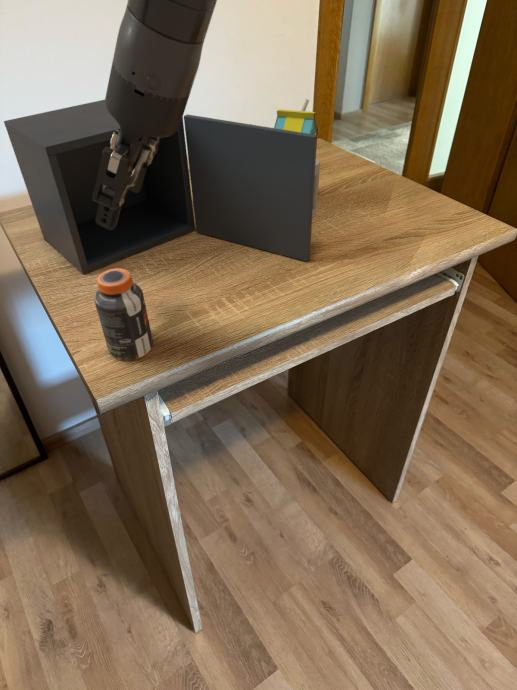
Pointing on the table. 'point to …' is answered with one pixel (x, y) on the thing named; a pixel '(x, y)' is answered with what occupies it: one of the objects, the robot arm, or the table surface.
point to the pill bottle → (123, 315)
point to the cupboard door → (253, 184)
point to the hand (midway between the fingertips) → (118, 206)
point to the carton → (297, 120)
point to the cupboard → (79, 182)
